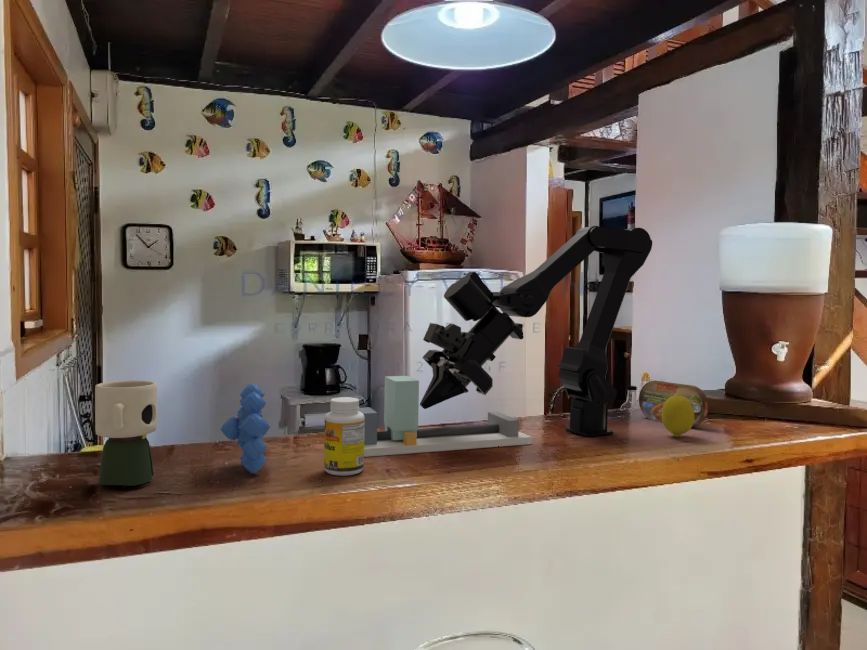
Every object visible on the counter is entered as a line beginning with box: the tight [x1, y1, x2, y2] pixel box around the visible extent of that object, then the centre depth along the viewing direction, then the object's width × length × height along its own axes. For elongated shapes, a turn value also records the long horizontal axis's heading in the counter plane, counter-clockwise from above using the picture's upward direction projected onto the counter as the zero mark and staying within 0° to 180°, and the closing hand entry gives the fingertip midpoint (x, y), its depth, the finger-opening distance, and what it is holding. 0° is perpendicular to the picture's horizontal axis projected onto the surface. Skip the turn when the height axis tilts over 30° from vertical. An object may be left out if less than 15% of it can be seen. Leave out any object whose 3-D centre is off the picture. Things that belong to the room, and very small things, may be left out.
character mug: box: [94, 380, 158, 489], centre depth 79 cm, size 11×7×13 cm, turn 15°
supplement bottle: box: [323, 396, 365, 477], centre depth 87 cm, size 6×6×10 cm
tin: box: [638, 380, 710, 427], centre depth 125 cm, size 15×3×8 cm, turn 32°
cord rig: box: [359, 406, 533, 458], centre depth 104 cm, size 30×10×6 cm, turn 110°
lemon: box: [661, 394, 694, 438], centre depth 112 cm, size 6×6×8 cm
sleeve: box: [383, 375, 420, 440], centre depth 102 cm, size 4×6×10 cm, turn 20°
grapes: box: [220, 382, 271, 474], centre depth 86 cm, size 12×7×12 cm, turn 19°
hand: (422, 406), depth 103 cm, fingers closed
